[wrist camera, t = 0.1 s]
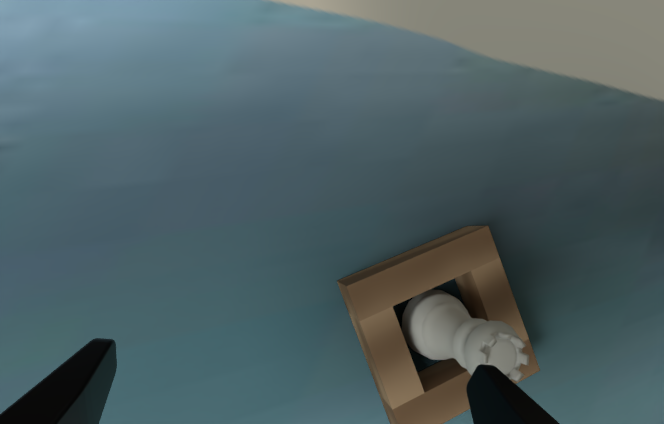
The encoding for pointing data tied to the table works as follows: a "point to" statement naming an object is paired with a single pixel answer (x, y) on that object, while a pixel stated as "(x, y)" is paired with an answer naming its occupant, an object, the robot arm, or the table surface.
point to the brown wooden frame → (411, 280)
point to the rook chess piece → (460, 335)
